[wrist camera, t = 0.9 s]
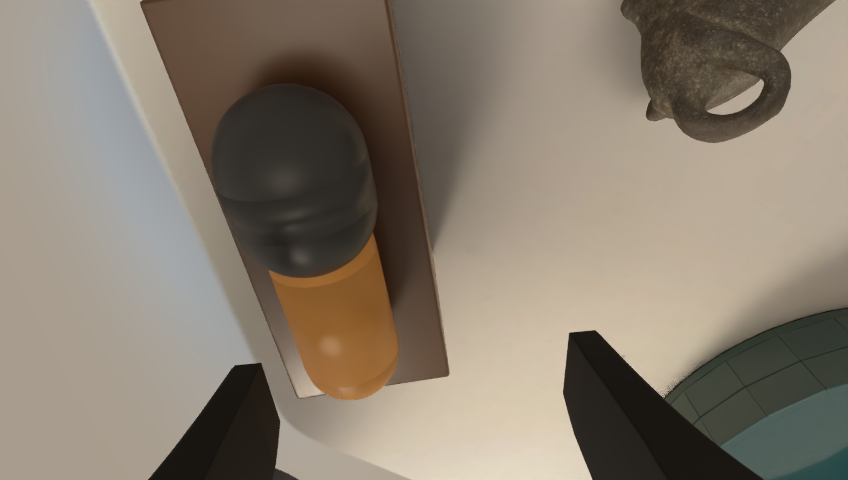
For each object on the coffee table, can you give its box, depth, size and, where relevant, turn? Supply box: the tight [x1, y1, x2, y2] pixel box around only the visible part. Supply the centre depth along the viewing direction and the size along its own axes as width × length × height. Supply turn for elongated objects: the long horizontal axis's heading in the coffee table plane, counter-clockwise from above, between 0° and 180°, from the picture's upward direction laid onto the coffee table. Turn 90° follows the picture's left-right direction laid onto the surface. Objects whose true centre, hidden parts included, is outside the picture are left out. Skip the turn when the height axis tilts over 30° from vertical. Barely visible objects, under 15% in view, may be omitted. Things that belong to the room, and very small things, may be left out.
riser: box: [140, 0, 450, 398], centre depth 17 cm, size 12×5×7 cm, turn 8°
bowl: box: [665, 308, 848, 480], centre depth 30 cm, size 20×20×4 cm
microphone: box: [210, 84, 399, 400], centre depth 13 cm, size 9×3×3 cm, turn 8°
